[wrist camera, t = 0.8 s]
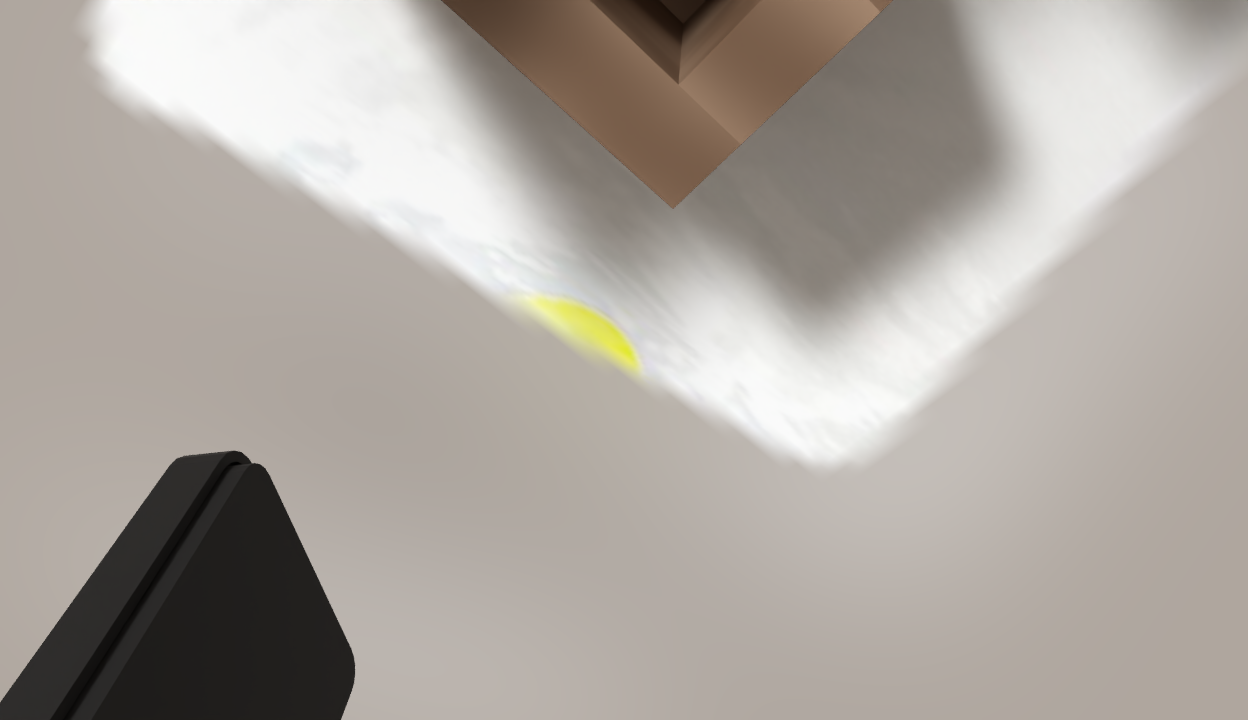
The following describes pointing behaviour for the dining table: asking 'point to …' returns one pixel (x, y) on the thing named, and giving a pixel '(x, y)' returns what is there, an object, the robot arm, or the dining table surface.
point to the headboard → (669, 69)
